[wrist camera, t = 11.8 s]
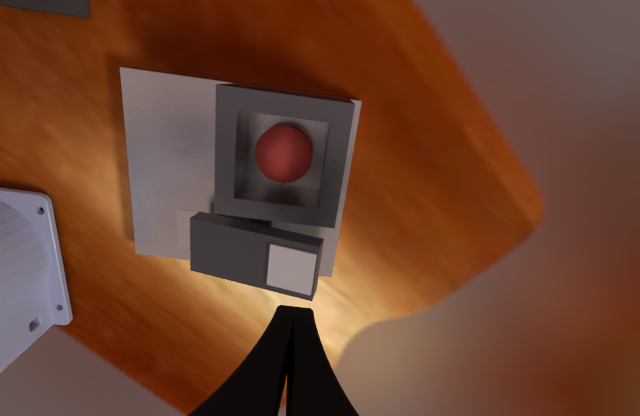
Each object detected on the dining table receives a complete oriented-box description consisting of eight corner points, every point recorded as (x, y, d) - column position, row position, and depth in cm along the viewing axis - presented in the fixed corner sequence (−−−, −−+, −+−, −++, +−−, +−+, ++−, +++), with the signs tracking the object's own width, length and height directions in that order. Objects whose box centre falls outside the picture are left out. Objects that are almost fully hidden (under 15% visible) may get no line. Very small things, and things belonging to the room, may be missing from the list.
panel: (331, 270, 21) (332, 308, 18) (142, 247, 21) (105, 282, 17) (360, 100, 17) (369, 106, 14) (128, 67, 17) (76, 65, 13)
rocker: (316, 290, 18) (311, 302, 17) (200, 261, 19) (189, 271, 18) (324, 238, 17) (319, 248, 16) (200, 211, 18) (188, 218, 17)
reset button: (309, 177, 18) (308, 186, 17) (258, 171, 18) (253, 179, 16) (316, 126, 17) (315, 130, 16) (262, 118, 17) (256, 122, 15)
